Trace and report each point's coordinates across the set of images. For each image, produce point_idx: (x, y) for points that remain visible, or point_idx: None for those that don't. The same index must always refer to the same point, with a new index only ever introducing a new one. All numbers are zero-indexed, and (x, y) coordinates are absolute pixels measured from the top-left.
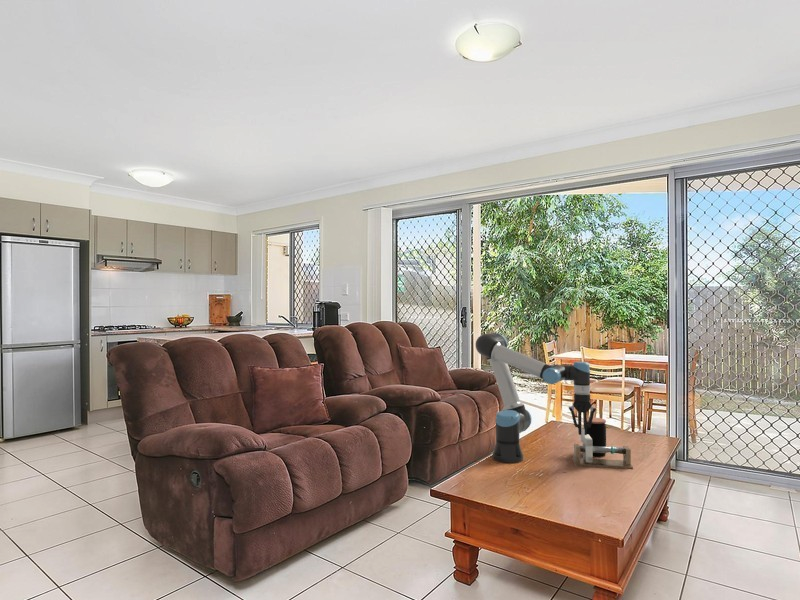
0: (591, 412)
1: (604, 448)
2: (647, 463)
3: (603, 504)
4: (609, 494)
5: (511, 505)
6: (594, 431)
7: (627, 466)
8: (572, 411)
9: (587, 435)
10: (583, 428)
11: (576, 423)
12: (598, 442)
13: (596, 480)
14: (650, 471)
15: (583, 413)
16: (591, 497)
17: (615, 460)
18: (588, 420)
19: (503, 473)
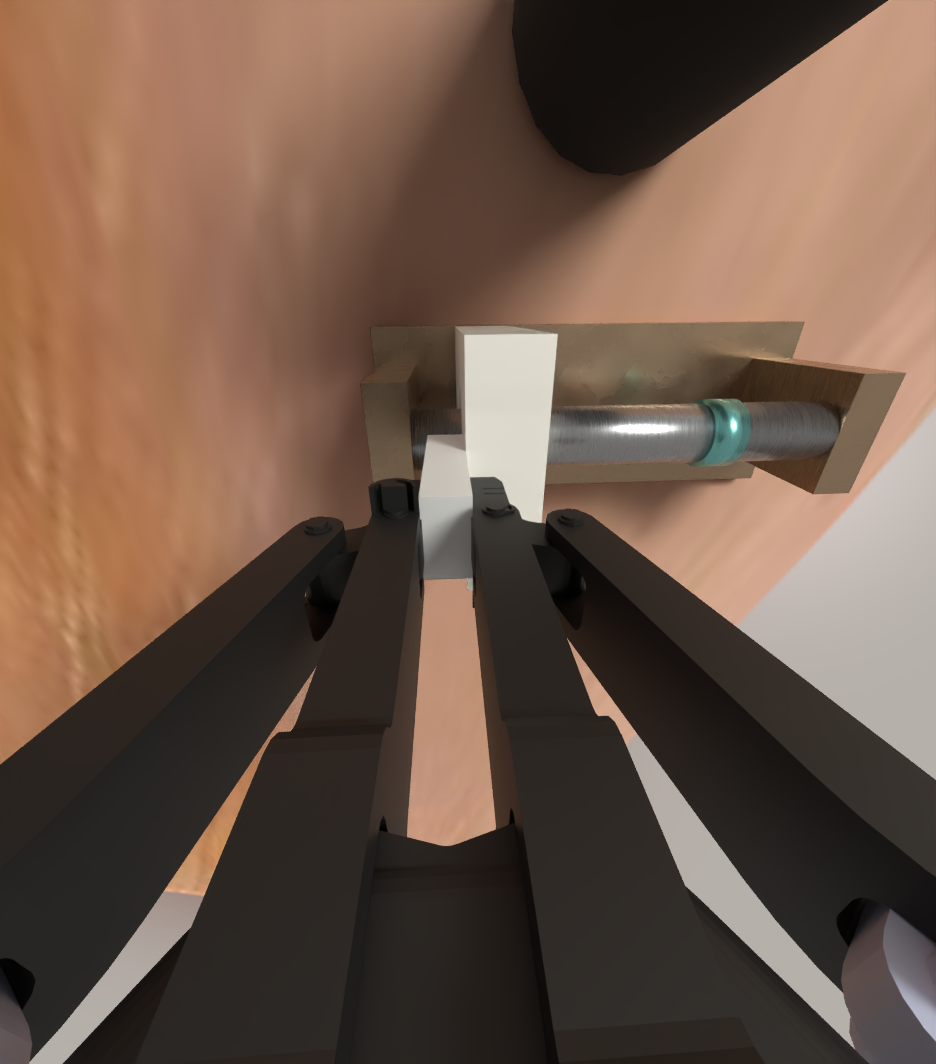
0: (776, 913)
1: (640, 462)
2: (930, 318)
3: (453, 832)
4: (490, 777)
5: (190, 880)
6: (743, 23)
7: (717, 478)
8: (36, 1002)
9: (522, 410)
10: (460, 555)
11: (326, 637)
12: (693, 123)
13: (472, 676)
14: (817, 501)
15: (503, 761)
16: (424, 805)
17: (704, 344)
18: (600, 575)
19: (17, 681)
